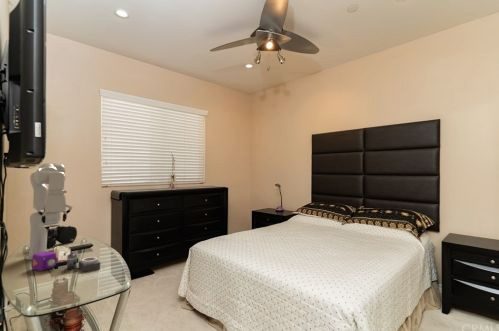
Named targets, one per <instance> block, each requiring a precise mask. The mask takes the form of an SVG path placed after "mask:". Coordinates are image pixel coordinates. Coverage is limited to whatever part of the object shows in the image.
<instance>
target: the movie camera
mask: <svg viewBox="0 0 499 331" xmlns="http://www.w3.org/2000/svg"><path fill="white" fill-rule="evenodd" d="M43 227H44V228H46V229H47V232H48V234H47V249H51V248H50V247H52V248H54V247H53V246H56V244H57V242H58V243H59V244H62V245H67V244H72V243H73V242H74V241H75V240H76V238H77V235H78V230H77V227H75V226H73V225H68V226H66V225H65V226H64V225H60V224H52V225H44V226H43ZM54 227H55V228H54ZM66 243H67V244H66Z"/></svg>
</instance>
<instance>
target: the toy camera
mask: <svg viewBox="0 0 499 331" xmlns="http://www.w3.org/2000/svg"><path fill="white" fill-rule="evenodd" d="M31 261H32V262H31V268H32V269H33V270H35V271H38V272H42V271H47V270H50V269H52V268H55V267H56V265H57V263H58V259H57V253H56V252H54V251H49V250H46V251H45V252H41V253H37V254H34V255H33V257H32V260H31ZM54 266H55V267H54Z"/></svg>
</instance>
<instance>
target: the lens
mask: <svg viewBox="0 0 499 331" xmlns="http://www.w3.org/2000/svg"><path fill="white" fill-rule="evenodd" d="M66 259H67V261H66V269H67V270H75V269H76V268H77V265H78V264H77V263H78V260H77V259H78V254H77V253H70V254H67V258H66Z"/></svg>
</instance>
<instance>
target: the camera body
mask: <svg viewBox="0 0 499 331" xmlns="http://www.w3.org/2000/svg"><path fill="white" fill-rule="evenodd" d="M78 268H79V270H81V271H82V272H83V273H86V272H91V271H96V270H100V269H101V261H99V260H98V257H96V256H89V257H88V256H87V257H84V258H82V259H81V260H78Z"/></svg>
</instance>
